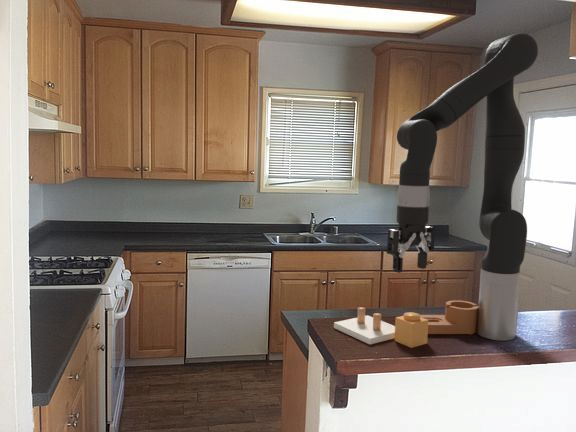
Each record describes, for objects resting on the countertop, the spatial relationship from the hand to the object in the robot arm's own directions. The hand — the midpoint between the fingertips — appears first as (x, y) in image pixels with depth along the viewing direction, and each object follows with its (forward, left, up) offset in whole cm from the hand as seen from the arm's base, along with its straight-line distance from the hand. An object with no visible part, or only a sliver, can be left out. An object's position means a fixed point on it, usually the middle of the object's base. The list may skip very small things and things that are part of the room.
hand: (409, 270), depth 126 cm
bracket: (-16, -2, -19) cm, 24 cm away
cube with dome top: (-1, +1, -18) cm, 18 cm away
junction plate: (+3, -10, -18) cm, 21 cm away
